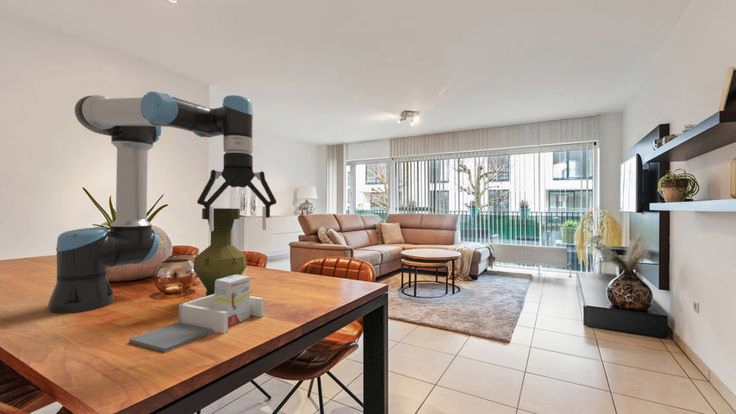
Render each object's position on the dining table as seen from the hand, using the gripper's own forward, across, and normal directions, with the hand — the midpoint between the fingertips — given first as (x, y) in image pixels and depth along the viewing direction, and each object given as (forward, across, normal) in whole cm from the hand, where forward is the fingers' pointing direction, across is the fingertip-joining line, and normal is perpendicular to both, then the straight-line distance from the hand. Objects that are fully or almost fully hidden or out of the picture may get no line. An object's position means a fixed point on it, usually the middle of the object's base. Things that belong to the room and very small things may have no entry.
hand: (238, 230), depth 92 cm
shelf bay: (+24, -4, 0) cm, 25 cm away
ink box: (+25, -2, -2) cm, 25 cm away
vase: (+24, -6, +21) cm, 33 cm away
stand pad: (+24, -15, -9) cm, 30 cm away
